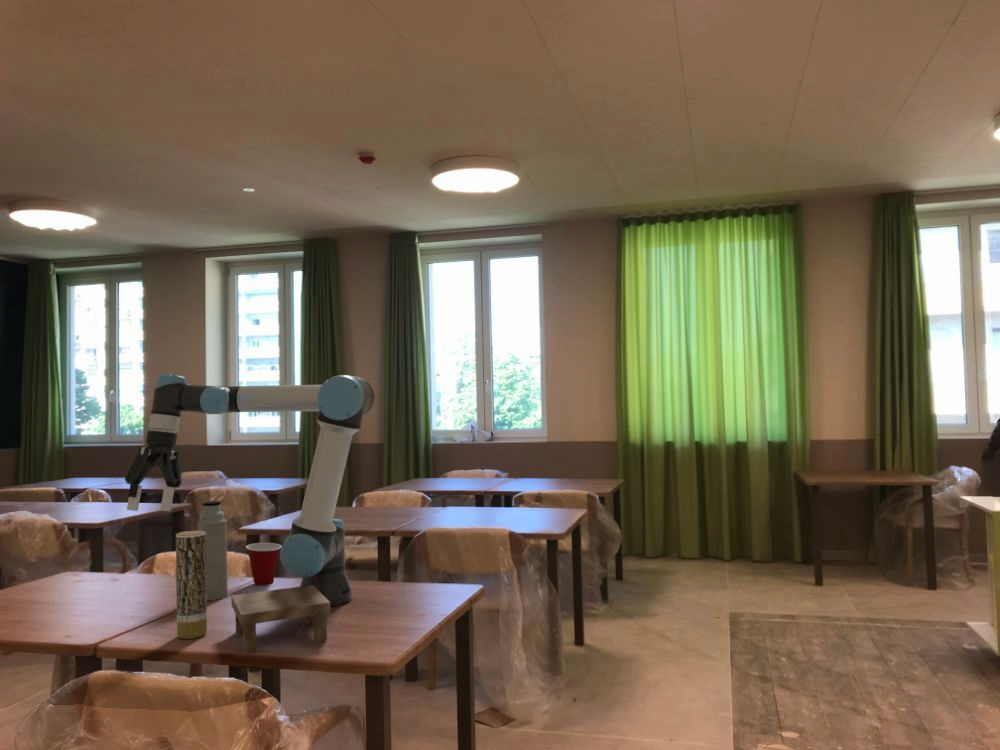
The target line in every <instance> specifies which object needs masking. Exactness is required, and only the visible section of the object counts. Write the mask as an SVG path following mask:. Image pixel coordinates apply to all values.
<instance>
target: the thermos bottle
mask: <svg viewBox="0 0 1000 750" xmlns="http://www.w3.org/2000/svg"><path fill="white" fill-rule="evenodd" d="M221 503H222V502H221V501H217V500H216V501H212V500H211V501H206V502H205V501H204V502H203V503H202V506H203V508H202V512H201V513H200V514H199V521H198V522H197V531H205V533H206V593H207V600H211V601H217V600H216V599H218V600H222V599H225V598H227V597H229V596H228V594H229V592H228V589H229V588H228V587H229V586H228V558H227V556H228V536H227V535H228V533H227V531H228V528H227V527H228V526H227V524H228V523H227V521H228V520H227V519H225V512H223V511H222V507H221ZM221 598H222V599H221Z"/></svg>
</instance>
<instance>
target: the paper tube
mask: <svg viewBox="0 0 1000 750" xmlns="http://www.w3.org/2000/svg"><path fill="white" fill-rule="evenodd" d="M175 568H176V569H175V572H176V573H175V575H176V576H175V577H176V579H175V581H176V582H175V583H176V584H175V585H176V635H177V638H179V639H180V640H192V639H193V640H194V639H197V638H201V637H204V636H205V635H206V634H207V632H208V622H207V621H208V610H207V609H208V604H207V603H208V602H207V593H206V533H205V531H198V530H190V531H189V530H188V531H186V530H185V531H181V532H177V533H175Z"/></svg>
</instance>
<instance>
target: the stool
mask: <svg viewBox="0 0 1000 750" xmlns="http://www.w3.org/2000/svg"><path fill="white" fill-rule="evenodd" d="M230 598H231V599H230V600H231V602H230V603H231V608H232V609H233V611H234V614H235V615H234V616H235V619H234V620H235V635H236V636H239V635H238V634H241V635H243V653H244V655H247V654H253V652H254V653H257V629H256V626H257V624H261V623H262V624H263V623H270V622H276V621H277V622H278V621H282V620H283V621H284V620H291V619H297V618H300V619H301V620H300V621H301V622H302V623H301V622H300V623H301V624H302V626H306V625H305V624H307V625H311V624H310V623H313V627H314V628H313V630H314V634H313V635H314V638H313V639H314V641H315V642H316V643H321V642H320V641H322V642H326V641H325V640H327V641H328V638H327V637H328V636H327V635H328V631H327V630H328V629H327V614H330V613H331V606H330V602H329V601H328V600H327V599H326V598H325V597H324V596H323V595H322V594H321V593H320V592H319V591H318V590H317V589H316V588H315V587H314V586H313V585H309V586H301V587H300V586H295V587H293V586H292V587H286V588H285V587H284V588H278V589H271V590H263V591H256V592H248V593H247V592H246V593H242V594H232V595H231V597H230Z"/></svg>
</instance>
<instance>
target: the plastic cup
mask: <svg viewBox="0 0 1000 750" xmlns="http://www.w3.org/2000/svg"><path fill="white" fill-rule="evenodd" d="M281 547H282V545H281V544H278V543H274V542H257V543H250V544H248V545H245V548H246V550H247V554H248V558H249V564H250V570H251V575H252V579H253V585H255V586H267V584H268V585H271V583H272V584H273V583H274V581H275V575H276V574H275V573H276V570H277V563H278V557H279V555H280V551H281Z"/></svg>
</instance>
